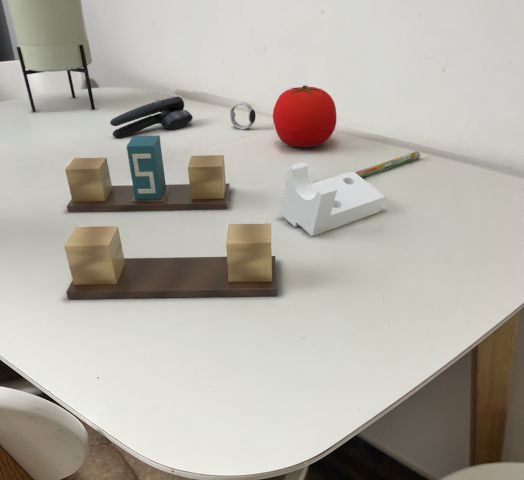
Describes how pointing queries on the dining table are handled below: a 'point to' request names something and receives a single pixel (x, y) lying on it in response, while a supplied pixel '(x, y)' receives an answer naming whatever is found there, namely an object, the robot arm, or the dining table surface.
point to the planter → (51, 39)
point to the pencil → (388, 164)
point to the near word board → (170, 267)
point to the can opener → (169, 117)
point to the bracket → (327, 200)
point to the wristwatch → (250, 116)
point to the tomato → (304, 116)
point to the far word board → (122, 199)
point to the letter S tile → (146, 167)
